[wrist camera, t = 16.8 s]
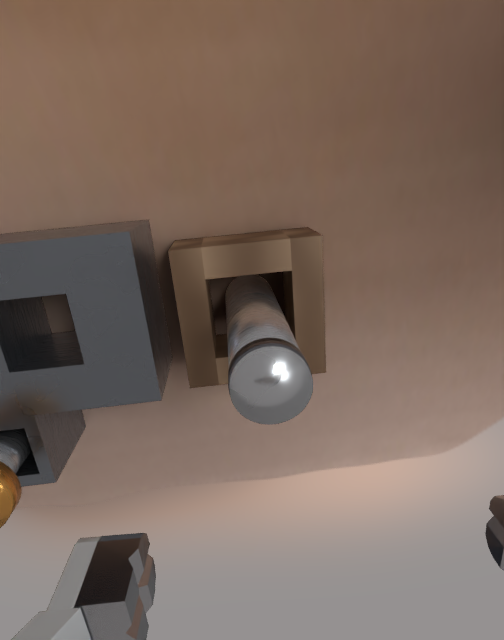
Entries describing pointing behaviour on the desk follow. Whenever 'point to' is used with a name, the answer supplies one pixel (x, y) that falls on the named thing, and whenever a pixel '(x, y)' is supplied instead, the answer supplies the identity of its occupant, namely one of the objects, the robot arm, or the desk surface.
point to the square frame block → (238, 260)
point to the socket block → (77, 334)
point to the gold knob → (11, 469)
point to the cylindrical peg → (263, 355)
